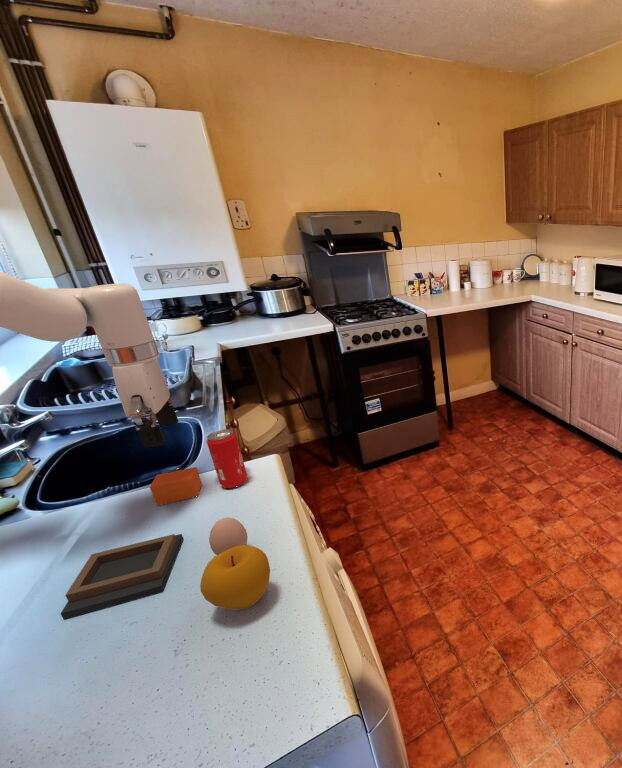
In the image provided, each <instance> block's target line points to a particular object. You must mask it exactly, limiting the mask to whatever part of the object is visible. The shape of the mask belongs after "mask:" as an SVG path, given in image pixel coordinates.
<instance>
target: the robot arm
mask: <svg viewBox="0 0 622 768" xmlns="http://www.w3.org/2000/svg"><path fill="white" fill-rule="evenodd" d="M87 327H92V328H93V330H94V332H95V333H94V334H95V335H96V338H97V340H98V342H99V346H100V348H101V350H102V352H103V354H104V357H105V359H106V363H107V365H108V366H109V367H111V369H112V376H113V381H114V384H115V387H116V388H115V389H116V391H117V394H118V397H119V401H120V403H121V407H122V409H123V412H124V414H125V416H126V418H129V419H131V421H132V424H133V426H135V430H136V431H137V432H138V435H139V438H140V440H141V442H142V444H143V447H144V448H146V449H148V448H154V447H160V446H164V445H165V444H166V440H165V439H166V438H165V436H164V434H163V431H162V429H161V428H162V427H165V426H170V425H177V424H178V423H179V419H178V415H177V412H176V410H175V408H174V405H173V400H172V399H171V398H170V396H171V393H170V389H169V386H168V383H167V380H166V377H165V375H164V372H163V371H162V368H161V365H160V363H159V361H158V359H159V358H160V357H161V355H160V352H159V348H158V346H157V343H156V341H155V337H154V335H153V332H152V329H151V327H150V323H149V319H148V318H147V314H146V312H145V309H144V306H143V303H142V300H141V297H140V295H139V292H138V290H137V289H136V288H135V286H133V285H131V284H130V283H107V284H99V285H92V286H89V287H77V288H75V287H73V288H71V287H70V288H67V287H66V288H65V287H64V288H63V287H62V288H61V287H59V288H57V287H54V288H53V287H52V288H42V287H40V286H37V285H35V284H32V283H30V282H28V281H25V280H22V279H20V278H17V277H15V276H13V275H10V274H8V273H6V272H5V271H1V270H0V328H3V329H5V330H9V331H11V332H16V333H17V334H19V335H23V336H26V337H30V338H33V339H36V340H40V341H45V342H52V343H53V342H55V343H56V342H59V343H60V342H66V341H67V342H68V341H71V340H73V339H76V338H77V337H79V336H80V335H82V333H83V332H84V331H85V329H86V328H87ZM147 417H149V419H148V418H147ZM157 423H158V424H157Z"/></svg>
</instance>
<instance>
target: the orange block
mask: <svg viewBox="0 0 622 768" xmlns="http://www.w3.org/2000/svg"><path fill="white" fill-rule="evenodd" d="M201 484H202V485H203V483H202V480H201V477H200V473H199V471H198V468H197V466H194V467H189V468H184V469H178V470H173V471H168V472H164V473H159V474H156V476H155V477H154V479H153V480H152V482H151V484H150V486H149V489H150V493H151V494H152V495H151V496H152V497H153V501H154V502H155V505H156V506H157V505H159V506H162V505H161V504H163V505H166V504H165V503H168V504H171V503H170V502H172V503H175V502H174V501H177V502H180V501H179V500H181V501H184V500H183V499H186V500H188V499H187V498H190V499H193V498H192V497H195V498H197V497H198V496H199V494H198V492H199V493H200V491H199V489H200V487H201V488H202V486H201ZM200 490H201V489H200ZM197 495H198V496H197ZM196 496H197V497H196Z"/></svg>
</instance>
